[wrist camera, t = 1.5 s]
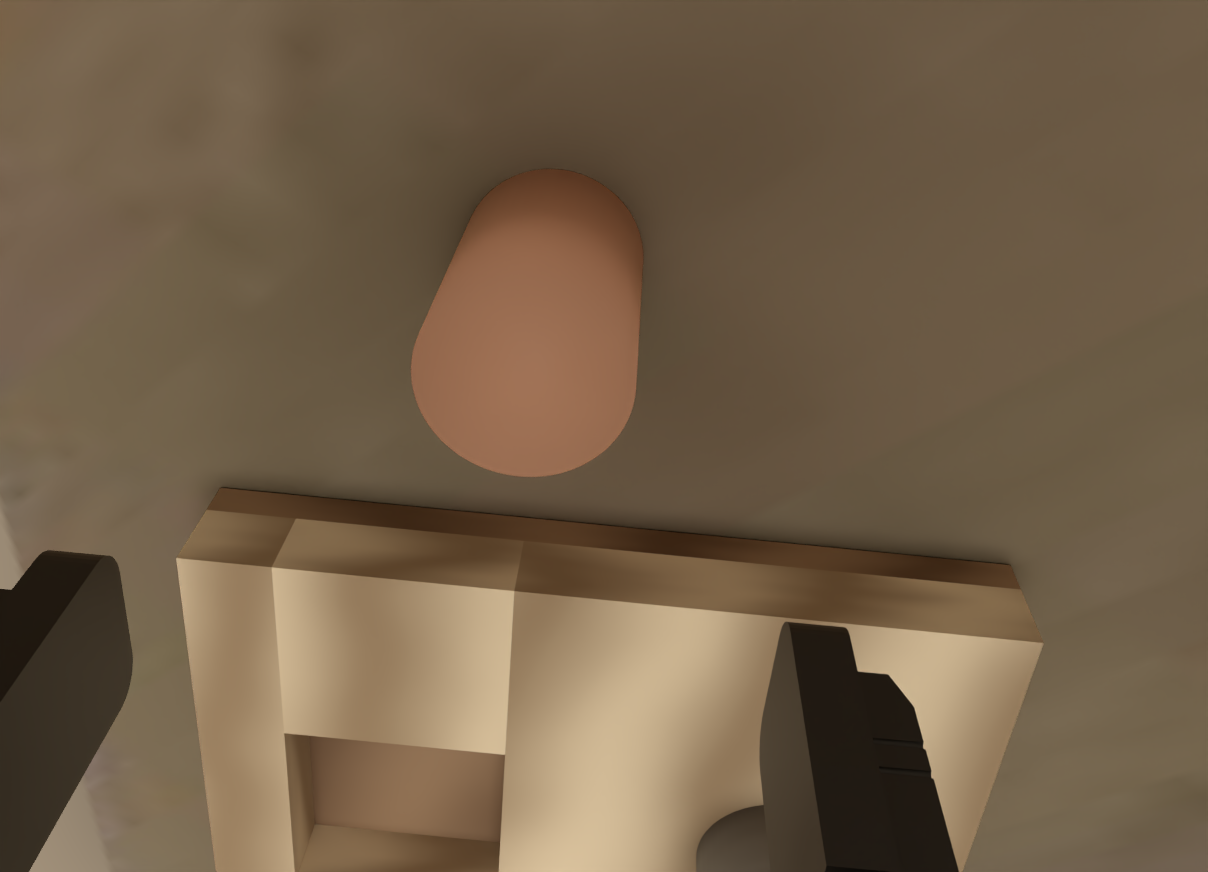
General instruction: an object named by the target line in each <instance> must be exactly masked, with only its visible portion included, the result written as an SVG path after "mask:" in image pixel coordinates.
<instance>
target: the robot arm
mask: <svg viewBox="0 0 1208 872" xmlns="http://www.w3.org/2000/svg"><path fill="white" fill-rule="evenodd" d="M132 664H133V657H132V648H131V642H130V635H129V629H128V622H127V616H126V610H125V603H124V597H123V590H122V584H121V577H120V572H119V567H118V564H117V562H116V561H115V559H114V558H113V557H111V556H105V555H94V554H84V553H73V552H62V551H52V550H48V551H45V552H43V553H41V554H40V555H39V556H38V557H37V558H36V559H35V561H34V562H33V563H32V565H31V566H30V567H29V568H28V570H27V571H26V572H25V574H24V575H23V576H22V577H21V579H20V580H19V581H18V583H17V584H16V585H15V587H14V588H13V589H12V590H5V589H0V872H29V870H30V869H31V867H32V865H33V863H34V862H35V860H36V858H37V856H38V854H39V853H40V851H41V849H42V847H43V846H44V844H45V842H46V840H47V839H48V837H49V835H50V833H51V831H52V830H53V828H54V826H55V824H56V822H57V821H58V819H59V817H60V815H61V813H62V812H63V810H64V808H65V807H66V805H67V803H68V801H69V800H70V798H71V796H72V794H73V793H74V791H75V789H76V787H77V786H78V784H79V782H80V780H81V778H82V777H83V775H84V773H85V771H86V770H87V768H88V766H89V764H90V763H91V761H92V759H93V757H94V755H95V754H96V752H97V750H98V748H99V747H100V745H101V743H102V741H103V740H104V738H105V736H106V734H107V732H108V731H109V729H110V727H111V725H112V724H113V722H114V720H115V718H116V717H117V715H118V713H119V711H120V710H121V708H122V706H123V704H124V701H125V699H126V696H127V693H128V689H129V685H130V681H131V675H132ZM923 743H924V741H923V738H922V734H921V730H920V727H919V723H918V719H917V716H916V712H915V708H914V706H913V705H912V704H911V702H910V701H909V700H908V699H907V697H906V696H905V695H904V694H903V692H902V691H901V690H900V689H899V687H898V686H897V685H896V684H895V682H894V681H893V680H892V678H891V677H890V676H889V675H888V674H879V673H868V672H858V670H857V666H856V661H855V657H854V652H853V648H852V643H851V639H850V635H849V632H848V630H847V628H845V627H837V626H827V625H816V624H806V623H795V622H784V624H783V626H782V628H781V631H780V635H779V640H778V645H777V649H776V654H775V659H774V663H773V668H772V673H771V678H770V682H769V687H768V692H767V696H766V701H765V706H764V710H763V716H762V722H761V731H760V747H759V761H760V775H761V784H762V794H763V804H764V814H765V823H766V833H767V843H768V853H769V862H770V872H959V870H958V866H957V863H956V859H955V855H954V852H953V848H952V844H951V841H950V837H949V833H948V830H947V826H946V822H945V819H944V815H943V811H942V807H941V804H940V800H939V796H938V793H937V789H936V785H935V782H934V779H933V778H931V772H932V771H931V767H930V763H929V760H928V756H927V752H926V749H923Z"/></svg>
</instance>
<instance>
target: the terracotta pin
mask: <svg viewBox="0 0 1208 872" xmlns="http://www.w3.org/2000/svg"><path fill="white" fill-rule="evenodd" d="M642 275H643V246H642V240H641V236H640V232H639V230H638V227H637V225H636V222H635V220H634V219H633V217H632V215H631V213H630V211H629V210H628V209H627V207H626V206H625V205H624V203H623V202H622V201H621V200H620V199H619V198H618V197H617V196H616V195H615V194H614V193H613V192H612V191H610V190H609V189H608V188H607V187H605V186H604V185H602V184H600V183H599V182H597V181H596V180H594V179H591V178H589V177H587V176H585V175H582V174H579V173H575V172H572V171H566V170H560V169H541V170H533V171H529V172H524V173H521V174H518V175H516V176H513V177H511V178H509V179H507V180H505V181H503V182H502V183H500V184H499V185H498V186H496V187H495V188H493V189H492V190H491V191H490V192H489V193H488V194H487V195H486V196H485V197H484V198H483V199H482V201H481V202H480V203H479V204H478V206H477V207H476V209H475V211H474V212H473V214H472V216H471V218H470V220H469V223H468V225H467V227H466V229H465V232H464V234H463V236H462V238H461V240H460V243H459V245H458V247H457V249H456V252H455V254H454V256H453V258H452V261H451V263H450V265H449V267H448V269H447V272H446V274H445V276H444V278H443V281H442V283H441V285H440V287H439V290H438V292H437V294H436V296H435V299H434V301H433V303H432V305H431V307H430V310H429V312H428V314H427V316H426V319H425V321H424V323H423V325H422V328H421V330H420V332H419V335H418V337H417V340H416V342H415V345H414V350H413V354H412V362H411V378H412V386H413V391H414V395H415V398H416V401H417V404H418V406H419V409H420V411H421V413H422V415H423V417H424V418H425V420H426V422H427V423H428V425H429V426H430V427H431V429H432V430H433V432H434V433H435V434H436V435H437V436H438V437H439V438H440V439H441V441H442V442H443V443H445V444H446V445H447V446H448V447H449V448H450V449H452V450H453V451H454V452H455V453H457V454H458V455H460V456H461V457H463V458H464V459H466V460H468V461H470V462H472V463H474V464H475V465H477V466H480V467H482V468H485V469H488V470H490V471H494V472H497V473H501V474H505V475H512V476H519V477H540V476H549V475H555V474H560V473H563V472H566V471H570V470H573V469H575V468H577V467H579V466H582V465H584V464H586V463H588V462H589V461H591V460H592V459H594V458H596V457H597V456H598V455H600V454H601V453H602V452H603V451H605V450H606V449H607V448H608V447H609V446H610V445H611V444H612V443H613V442H614V441H615V440H616V438H617V437H618V436H619V434H620V433H621V431H622V430H623V428H624V426H625V425H626V423H627V421H628V419H629V417H630V414H631V411H632V408H633V405H634V400H635V394H636V382H637V364H638V346H639V329H640V311H641V293H642Z"/></svg>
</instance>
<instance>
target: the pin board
mask: <svg viewBox="0 0 1208 872" xmlns="http://www.w3.org/2000/svg"><path fill="white" fill-rule="evenodd" d="M176 560H177V568H178V576H179V584H180V591H181V599H182V607H183V615H184V623H185V631H186V639H187V647H188V654H189V662H190V670H191V678H192V686H193V694H194V702H195V710H196V717H197V725H198V733H199V741H200V749H201V757H202V765H203V773H204V780H205V788H206V796H207V804H208V812H209V820H210V828H211V836H212V843H213V851H214V859H215V867H216V872H770V862H769V853H768V843H767V833H766V823H765V814H764V804H763V794H762V784H761V775H760V761H759V747H760V731H761V722H762V716H763V710H764V706H765V701H766V696H767V692H768V687H769V682H770V678H771V673H772V668H773V663H774V659H775V654H776V649H777V645H778V640H779V635H780V631H781V628H782V626H783V624H784V622H795V623H806V624H816V625H827V626H837V627H845V628H847V630H848V632H849V635H850V639H851V643H852V648H853V652H854V657H855V661H856V666H857V670H858V672H868V673H879V674H888V675H889V676H890V677H891V678H892V680H893V681H894V682H895V684H896V685H897V686H898V687H899V689H900V690H901V691H902V692H903V694H904V695H905V696H906V697H907V699H908V700H909V701H910V702H911V704H912V705H913V706H914V708H915V712H916V716H917V719H918V723H919V727H920V730H921V734H922V738H923V741H924V743H923V749H926V752H927V756H928V760H929V763H930V767H931V771H932V772H931V778H933V779H934V782H935V785H936V789H937V793H938V796H939V800H940V804H941V807H942V811H943V815H944V819H945V822H946V826H947V830H948V833H949V837H950V841H951V844H952V848H953V852H954V855H955V859H956V863H957V866H958V870H959V872H962V871H963V869H964V866H965V863H966V860H967V857H968V854H969V852H970V849H971V846H972V843H973V840H974V838H975V835H976V832H977V829H978V826H979V824H980V821H981V818H982V815H983V812H984V810H985V807H986V804H987V801H988V798H989V795H990V793H991V790H992V787H993V784H994V781H995V779H996V776H997V773H998V770H999V767H1000V765H1001V762H1002V759H1003V756H1004V753H1005V750H1006V748H1007V745H1008V742H1009V739H1010V736H1011V734H1012V731H1013V728H1014V725H1015V722H1016V720H1017V717H1018V714H1019V711H1020V708H1021V705H1022V703H1023V700H1024V697H1025V694H1026V691H1027V689H1028V686H1029V683H1030V680H1031V677H1032V675H1033V672H1034V669H1035V666H1036V663H1037V660H1038V658H1039V655H1040V652H1041V649H1042V646H1043V644H1044V643H1043V640H1042V638H1041V636H1040V633H1039V631H1038V629H1037V626H1036V624H1035V622H1034V619H1033V617H1032V614H1031V612H1030V610H1029V607H1028V605H1027V603H1026V600H1025V598H1024V596H1023V593H1022V591H1021V589H1020V586H1019V584H1018V582H1017V579H1016V577H1015V575H1014V572H1013V570H1012V568H1011V565H1004V564H994V563H984V562H973V561H963V560H953V559H943V558H933V557H922V556H912V555H902V554H892V553H882V552H871V551H861V550H851V549H841V548H830V547H820V546H810V545H800V544H790V543H779V542H769V541H759V540H749V539H739V538H728V537H718V536H708V535H698V534H687V533H677V532H667V531H657V530H647V529H636V528H626V527H616V526H606V525H595V524H585V523H575V522H565V521H555V520H544V519H534V518H524V517H514V516H504V515H493V514H483V513H473V512H463V511H452V510H442V509H432V508H422V507H412V506H401V505H391V504H381V503H371V502H361V501H350V500H340V499H330V498H320V497H309V496H299V495H289V494H279V493H269V492H258V491H248V490H238V489H228V488H220V489H219V491H218V492H217V494H216V496H215V497H214V499H213V500H212V502H211V504H210V505H209V507H208V508H207V510H206V511H205V513H204V515H203V516H202V518H201V519H200V521H199V523H198V524H197V526H196V527H195V529H194V531H193V532H192V534H191V535H190V537H189V539H188V540H187V542H186V543H185V545H184V547H183V548H182V550H181V551H180V553H179V554H178V556H177V558H176Z"/></svg>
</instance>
